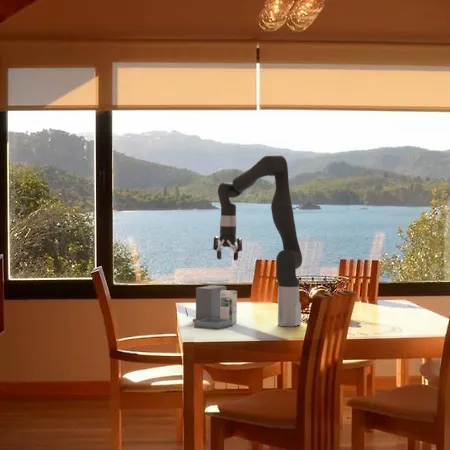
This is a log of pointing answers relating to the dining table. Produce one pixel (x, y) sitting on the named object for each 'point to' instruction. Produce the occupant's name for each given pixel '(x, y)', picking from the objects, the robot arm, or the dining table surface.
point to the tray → (213, 323)
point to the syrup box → (228, 305)
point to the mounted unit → (208, 302)
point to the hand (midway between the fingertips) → (227, 259)
